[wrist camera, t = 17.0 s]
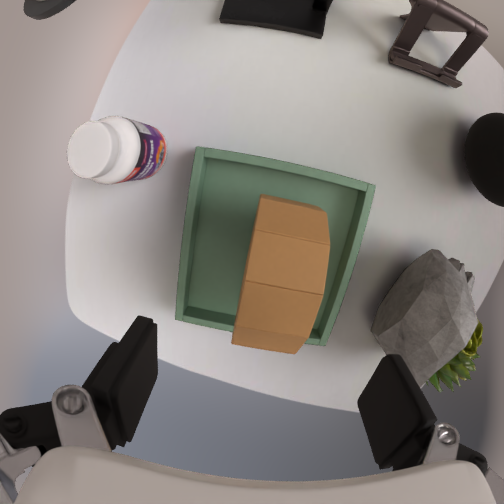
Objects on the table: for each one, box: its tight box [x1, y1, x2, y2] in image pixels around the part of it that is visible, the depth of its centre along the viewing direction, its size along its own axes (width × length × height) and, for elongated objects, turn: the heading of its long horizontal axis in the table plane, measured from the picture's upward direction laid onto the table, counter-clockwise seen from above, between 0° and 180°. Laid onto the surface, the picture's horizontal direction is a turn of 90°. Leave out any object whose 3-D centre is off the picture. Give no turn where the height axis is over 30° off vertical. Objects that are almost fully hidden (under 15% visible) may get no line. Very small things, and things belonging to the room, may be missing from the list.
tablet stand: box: [389, 0, 488, 88], centre depth 15 cm, size 9×8×8 cm
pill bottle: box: [67, 116, 167, 184], centre depth 19 cm, size 5×5×10 cm
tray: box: [175, 147, 376, 346], centre depth 25 cm, size 16×17×3 cm
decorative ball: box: [464, 113, 504, 207], centre depth 17 cm, size 10×10×10 cm
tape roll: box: [231, 194, 330, 354], centre depth 20 cm, size 4×11×11 cm, turn 169°
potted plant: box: [371, 249, 483, 392], centre depth 23 cm, size 12×13×15 cm
